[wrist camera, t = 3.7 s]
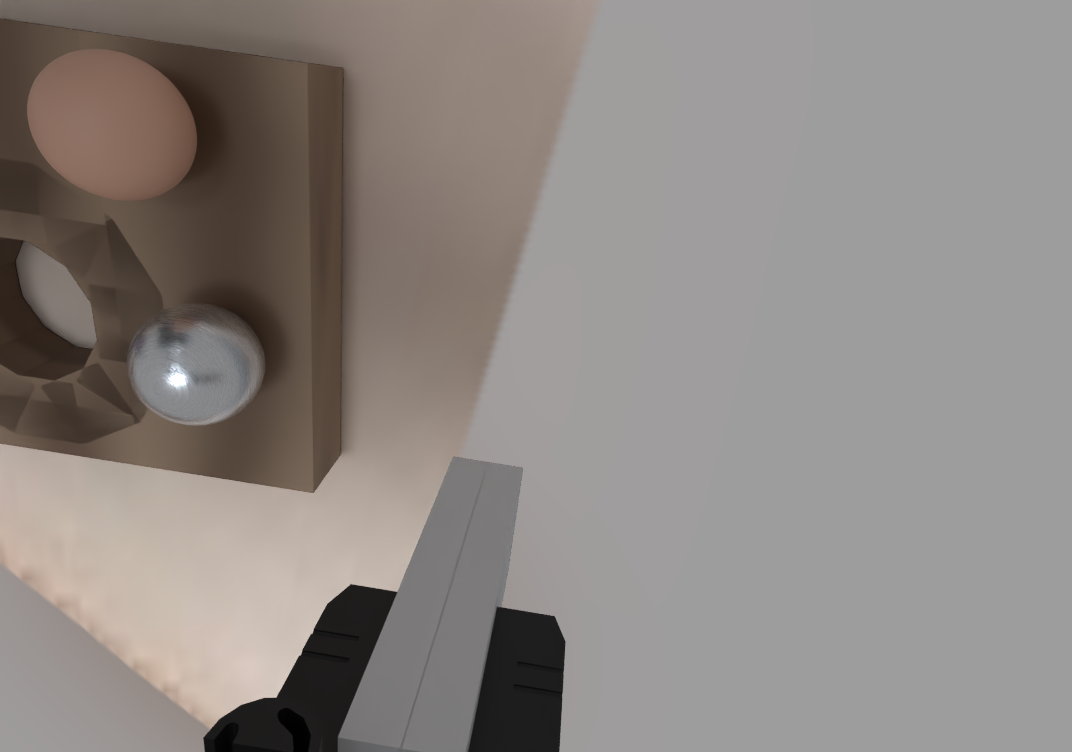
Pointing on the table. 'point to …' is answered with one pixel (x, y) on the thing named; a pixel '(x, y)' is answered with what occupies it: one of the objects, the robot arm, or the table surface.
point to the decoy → (112, 124)
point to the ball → (195, 364)
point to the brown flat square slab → (183, 264)
